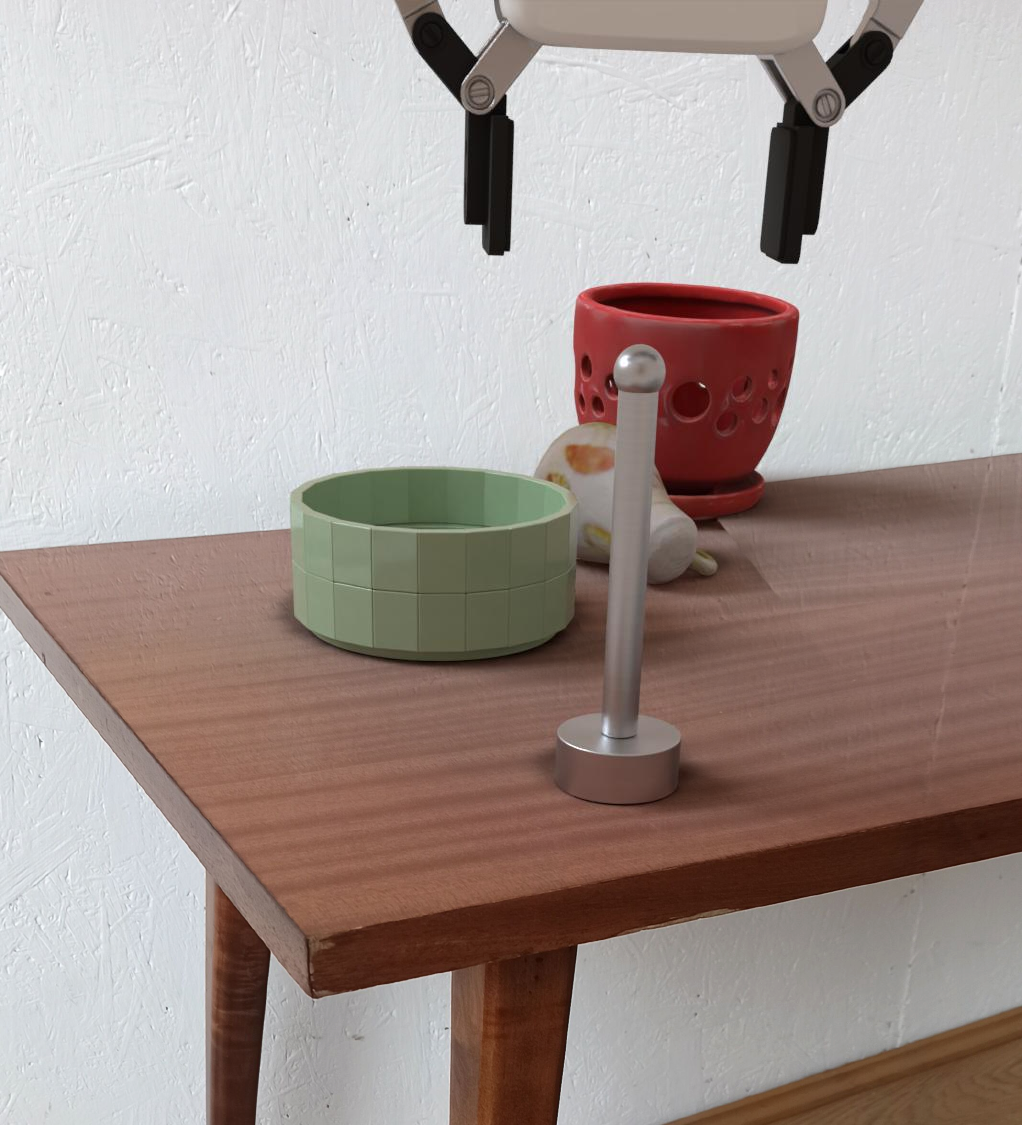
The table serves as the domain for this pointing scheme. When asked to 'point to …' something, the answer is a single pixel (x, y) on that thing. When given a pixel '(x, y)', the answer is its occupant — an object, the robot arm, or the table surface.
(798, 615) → the table surface
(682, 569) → the mug
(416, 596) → the bowl
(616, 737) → the ball topped metal stand
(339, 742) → the table surface
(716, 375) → the flower pot
